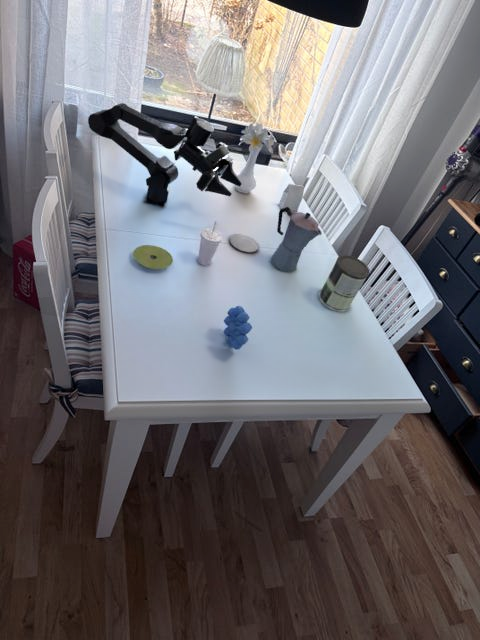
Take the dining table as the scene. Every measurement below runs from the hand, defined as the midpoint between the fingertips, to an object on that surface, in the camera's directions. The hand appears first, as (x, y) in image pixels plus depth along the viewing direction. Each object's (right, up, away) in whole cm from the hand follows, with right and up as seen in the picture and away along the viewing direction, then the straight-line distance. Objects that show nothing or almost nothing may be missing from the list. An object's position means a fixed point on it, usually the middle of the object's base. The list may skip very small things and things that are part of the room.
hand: (236, 190), depth 151 cm
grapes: (-1, -47, -28) cm, 55 cm away
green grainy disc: (-24, -24, -13) cm, 37 cm away
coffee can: (+31, -35, -1) cm, 47 cm away
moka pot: (+15, -23, +6) cm, 28 cm away
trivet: (+2, -16, +8) cm, 18 cm away
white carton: (+20, +3, +37) cm, 43 cm away
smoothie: (-10, -23, -6) cm, 26 cm away
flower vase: (+2, +11, +38) cm, 40 cm away
